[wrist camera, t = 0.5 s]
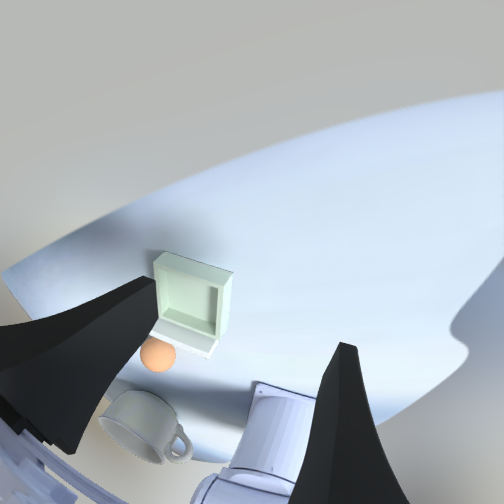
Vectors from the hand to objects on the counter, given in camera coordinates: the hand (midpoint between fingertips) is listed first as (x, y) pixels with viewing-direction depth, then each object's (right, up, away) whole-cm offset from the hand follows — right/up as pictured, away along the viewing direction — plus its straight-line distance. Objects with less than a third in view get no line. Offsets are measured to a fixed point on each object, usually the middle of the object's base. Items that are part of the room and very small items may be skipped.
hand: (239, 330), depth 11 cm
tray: (-4, 0, +14) cm, 14 cm away
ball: (-9, -7, +17) cm, 21 cm away
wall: (-5, -3, +16) cm, 17 cm away
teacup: (-12, -19, +29) cm, 37 cm away
